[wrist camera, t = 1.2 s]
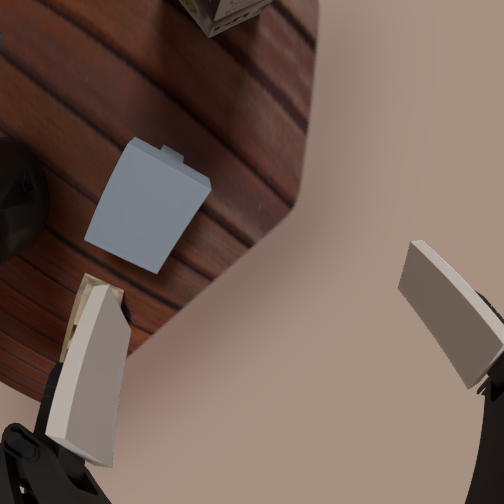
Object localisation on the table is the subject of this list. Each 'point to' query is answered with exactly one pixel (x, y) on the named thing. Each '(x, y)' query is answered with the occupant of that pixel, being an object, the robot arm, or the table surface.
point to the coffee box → (222, 13)
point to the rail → (80, 304)
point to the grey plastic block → (147, 205)
